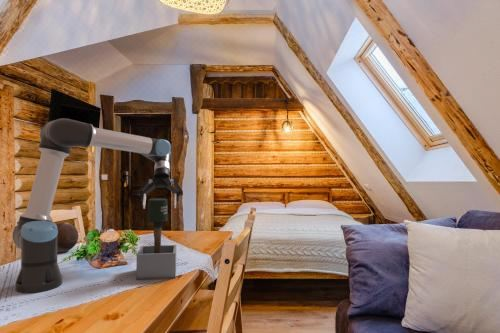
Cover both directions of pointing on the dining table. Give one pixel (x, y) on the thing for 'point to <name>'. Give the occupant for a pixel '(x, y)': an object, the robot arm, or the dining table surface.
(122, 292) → the dining table surface
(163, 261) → the bin
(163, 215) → the stick grenade
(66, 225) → the wooden sphere
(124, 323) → the dining table surface
